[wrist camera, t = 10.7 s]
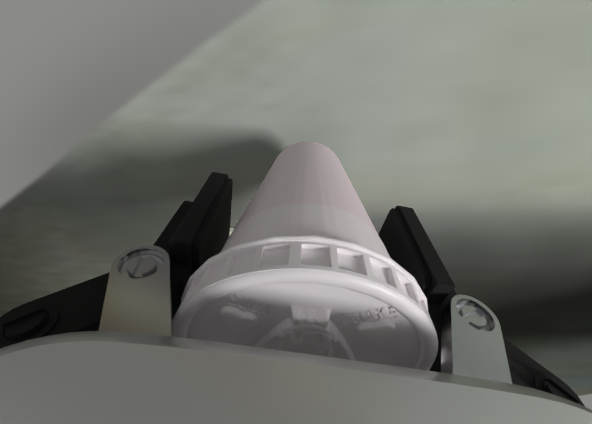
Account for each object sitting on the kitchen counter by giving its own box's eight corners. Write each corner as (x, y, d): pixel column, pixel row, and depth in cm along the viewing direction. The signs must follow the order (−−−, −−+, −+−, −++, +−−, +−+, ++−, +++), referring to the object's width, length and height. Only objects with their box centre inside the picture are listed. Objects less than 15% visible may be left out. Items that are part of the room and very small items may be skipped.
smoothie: (248, 217, 16) (98, 685, 5) (244, 106, 13) (-446, 995, 1) (355, 227, 16) (456, 715, 5) (382, 119, 13) (1096, 1115, 1)
